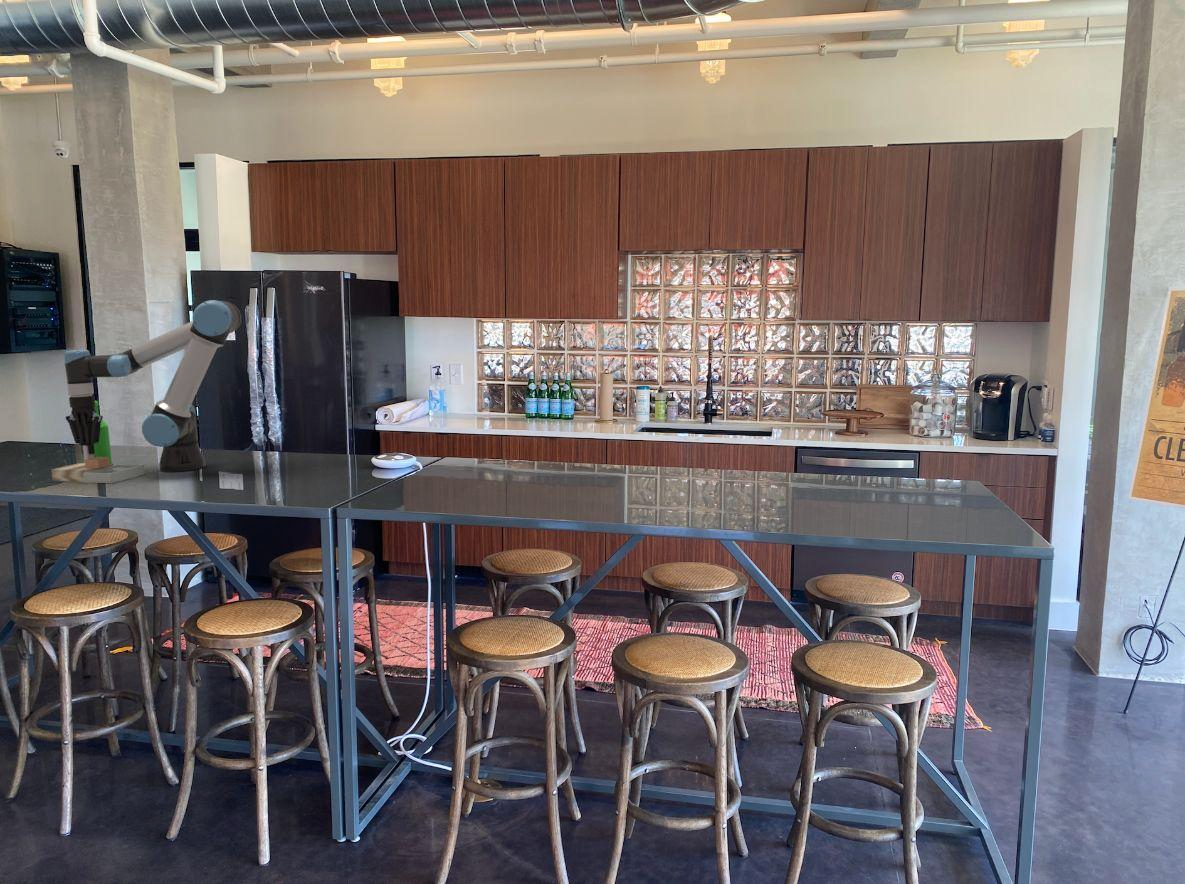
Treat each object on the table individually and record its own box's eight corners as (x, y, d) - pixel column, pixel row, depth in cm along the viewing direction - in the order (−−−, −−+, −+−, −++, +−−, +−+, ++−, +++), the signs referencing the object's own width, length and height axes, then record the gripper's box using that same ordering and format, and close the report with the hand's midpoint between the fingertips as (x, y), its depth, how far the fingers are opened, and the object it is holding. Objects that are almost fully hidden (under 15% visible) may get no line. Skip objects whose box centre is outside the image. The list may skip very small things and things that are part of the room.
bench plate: (114, 475, 302) (113, 463, 301) (88, 482, 290) (86, 470, 289) (79, 474, 304) (78, 463, 304) (52, 481, 293) (51, 469, 292)
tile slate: (116, 467, 297) (117, 475, 297) (106, 470, 292) (107, 478, 292) (129, 467, 296) (130, 476, 296) (119, 470, 291) (119, 479, 291)
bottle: (103, 471, 310) (95, 402, 306) (79, 471, 310) (71, 402, 306) (117, 466, 318) (110, 399, 314) (94, 466, 319) (86, 399, 315)
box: (144, 474, 301) (143, 464, 301) (111, 483, 286) (110, 473, 285) (119, 474, 303) (117, 464, 303) (84, 483, 288) (83, 473, 287)
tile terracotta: (109, 465, 297) (108, 457, 297) (98, 468, 292) (97, 459, 292) (97, 465, 298) (96, 457, 298) (85, 468, 293) (84, 459, 293)
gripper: (106, 394, 294) (114, 462, 298) (73, 394, 297) (81, 461, 301) (89, 396, 287) (97, 466, 291) (56, 396, 290) (64, 465, 293)
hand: (89, 463), depth 296 cm, fingers closed
